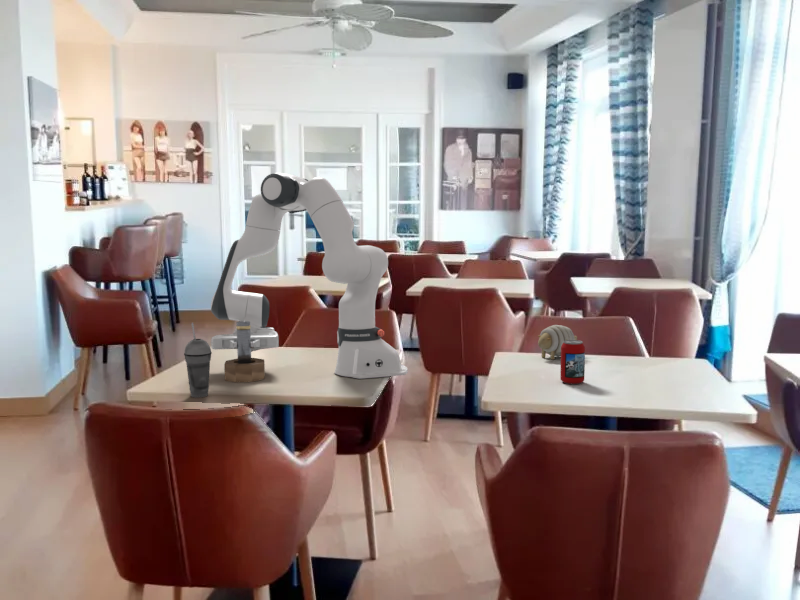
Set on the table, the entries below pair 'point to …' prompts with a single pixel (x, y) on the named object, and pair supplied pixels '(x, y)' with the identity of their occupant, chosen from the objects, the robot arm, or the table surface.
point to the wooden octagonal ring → (244, 370)
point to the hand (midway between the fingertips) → (243, 345)
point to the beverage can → (572, 362)
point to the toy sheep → (554, 339)
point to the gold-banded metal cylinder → (243, 342)
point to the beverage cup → (198, 365)
